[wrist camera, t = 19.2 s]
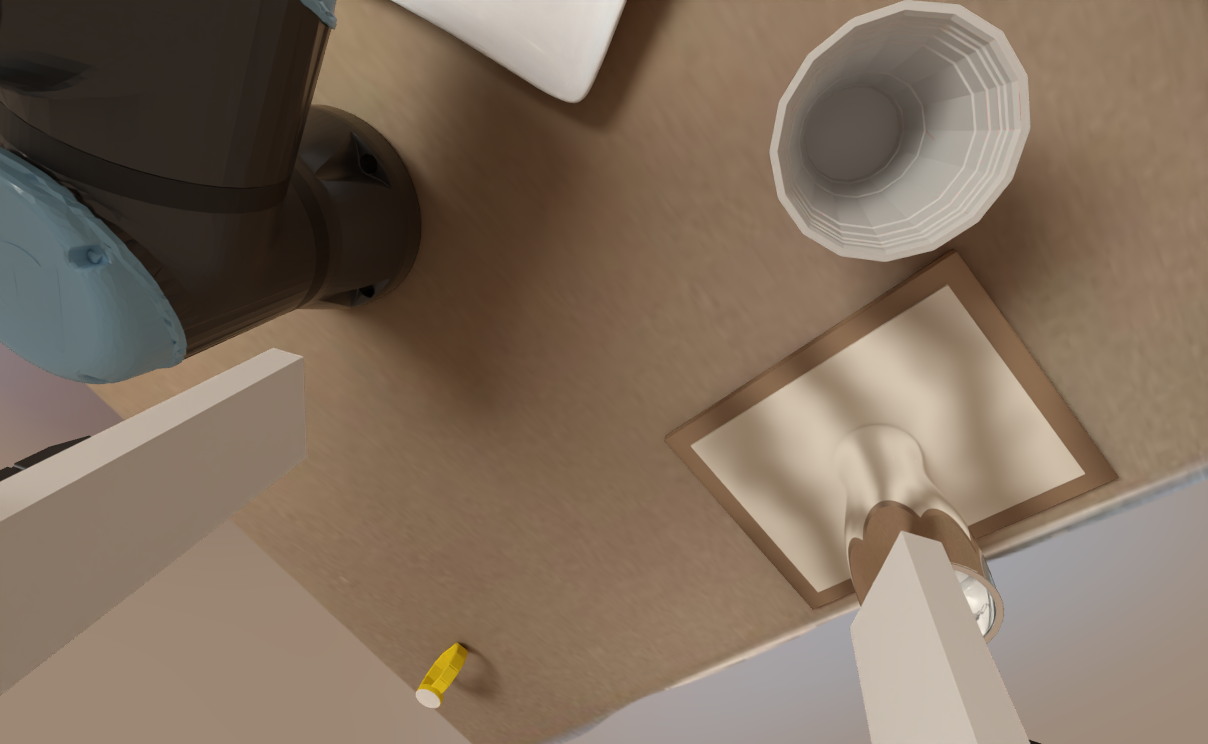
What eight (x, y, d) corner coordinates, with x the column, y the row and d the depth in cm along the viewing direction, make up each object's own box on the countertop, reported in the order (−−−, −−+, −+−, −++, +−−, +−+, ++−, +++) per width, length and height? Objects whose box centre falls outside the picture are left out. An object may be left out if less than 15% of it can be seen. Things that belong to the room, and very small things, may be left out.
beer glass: (926, 499, 44) (1002, 668, 31) (827, 499, 46) (858, 659, 33) (930, 416, 42) (1016, 561, 28) (825, 419, 43) (858, 557, 30)
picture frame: (811, 602, 51) (813, 611, 50) (665, 436, 48) (664, 442, 47) (1112, 471, 41) (1120, 479, 40) (952, 248, 38) (957, 252, 37)
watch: (451, 667, 66) (423, 717, 61) (432, 651, 66) (402, 700, 61) (479, 648, 63) (452, 698, 58) (460, 631, 63) (431, 681, 58)
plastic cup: (976, 172, 36) (1070, 198, 25) (801, 249, 40) (820, 299, 29) (918, -8, 33) (997, -65, 23) (737, 93, 37) (731, 86, 27)
